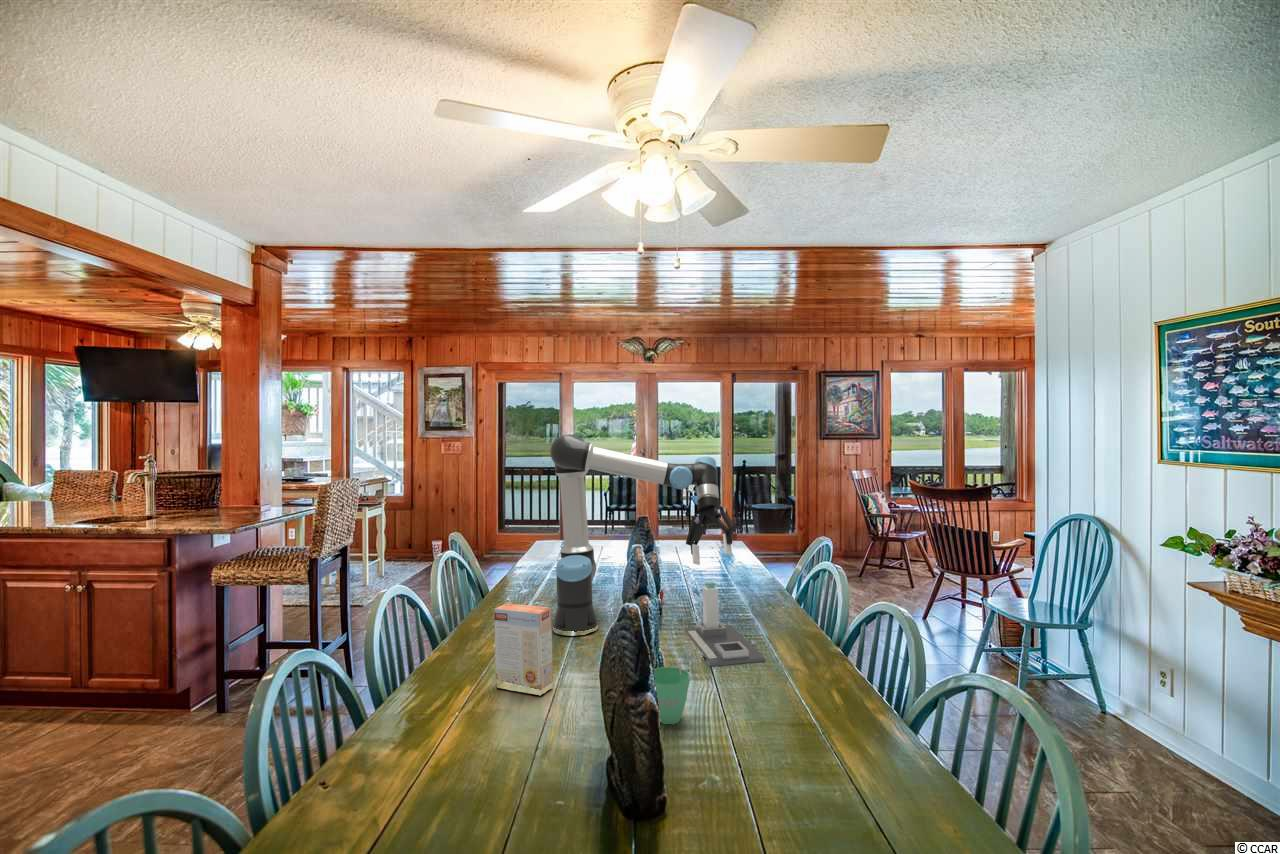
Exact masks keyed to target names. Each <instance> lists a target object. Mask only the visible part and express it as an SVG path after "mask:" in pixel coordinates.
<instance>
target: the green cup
mask: <svg viewBox="0 0 1280 854" xmlns="http://www.w3.org/2000/svg"><path fill="white" fill-rule="evenodd" d="M653 670H654V677H655V685H656V691H657V698H658V704H659V708H660V719H661V724H662V723H663V725H666V724H672V725H676V724H678V723H679V722H680V720H681V718H682V715H683V712H684V709H685V705H686V701H687V697H688V692H689V687H690V686H689V685H690V681H691V675H690V672H688V671H687V670H686V669H683V668H682V669H681V672H680V670H679V668H678V667H677V666H676V667H674V666H673V667H672V666H663V667H657V668H654V669H653ZM677 722H678V723H677ZM675 723H676V724H675Z"/></svg>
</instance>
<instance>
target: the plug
mask: <svg viewBox="0 0 1280 854" xmlns="http://www.w3.org/2000/svg"><path fill="white" fill-rule="evenodd" d="M704 583H705V585H704V586H703V585H702V622H703V627H704V628H705V629H709V628H719V621H720V612H719V611H720V610H719V609H720V607H719V606H720V605H719V604H720V603H719V588H718V586H716V583H715V582H714V581H705V582H704Z"/></svg>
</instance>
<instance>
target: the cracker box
mask: <svg viewBox="0 0 1280 854" xmlns="http://www.w3.org/2000/svg"><path fill="white" fill-rule="evenodd" d="M493 610H494V611H493V612H494V613H493V614H494V644H495V645H494V650H495V651H494V653H495V655H494V656H495V662H494V663H495V680H496V679H497V680H500V681H505V682H508V683H513V684H517V685H522V686H526V687H530V688H534V689H539V690H542V689H543V688H545V687H546V686H548V685H549V684H551V683H552V682H553V681H554V678H553V677H554V675H553V674H554V671H553V670H554V669H553V643H552V642H553V639H552V637H553V636H552V633H553V629H552V608H551V607H547V606H546V607H545V606H537V605H530V604H529V605H528V604H519V603H512V602H510V603H509V602H507V603H504V604H502V605H499V606H497V607H495V608H494V609H493ZM553 683H554V682H553Z"/></svg>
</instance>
